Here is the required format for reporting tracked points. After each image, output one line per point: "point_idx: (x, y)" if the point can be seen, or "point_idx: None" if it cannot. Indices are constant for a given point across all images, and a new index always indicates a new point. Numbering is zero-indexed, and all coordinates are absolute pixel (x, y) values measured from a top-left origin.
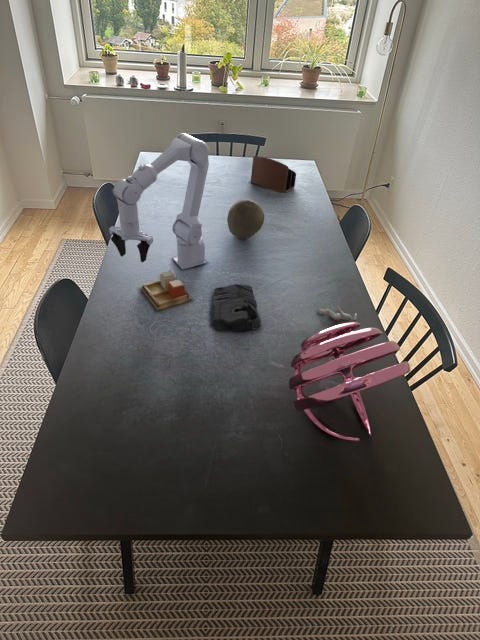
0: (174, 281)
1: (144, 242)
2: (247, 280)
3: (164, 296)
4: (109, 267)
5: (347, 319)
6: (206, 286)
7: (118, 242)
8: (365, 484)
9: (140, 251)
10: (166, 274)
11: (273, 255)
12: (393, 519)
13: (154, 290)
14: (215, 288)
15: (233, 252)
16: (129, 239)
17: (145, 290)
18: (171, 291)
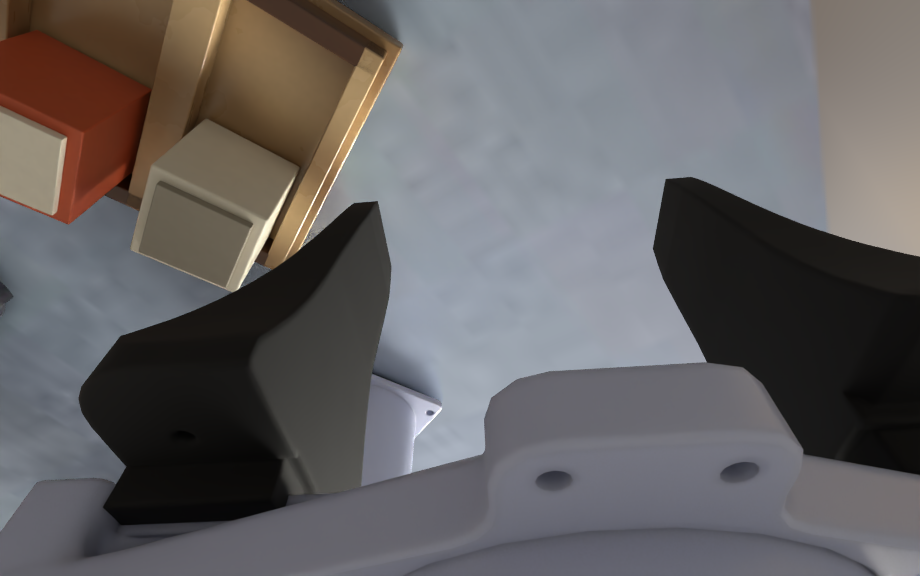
0: (36, 170)
1: (172, 493)
2: (9, 418)
3: (145, 39)
4: (791, 166)
5: None
6: (93, 297)
7: (820, 302)
8: None
9: (290, 287)
10: (192, 225)
11: None
12: None
13: (277, 71)
14: (8, 300)
15: None
16: (466, 460)
17: (316, 10)
18: (25, 68)
